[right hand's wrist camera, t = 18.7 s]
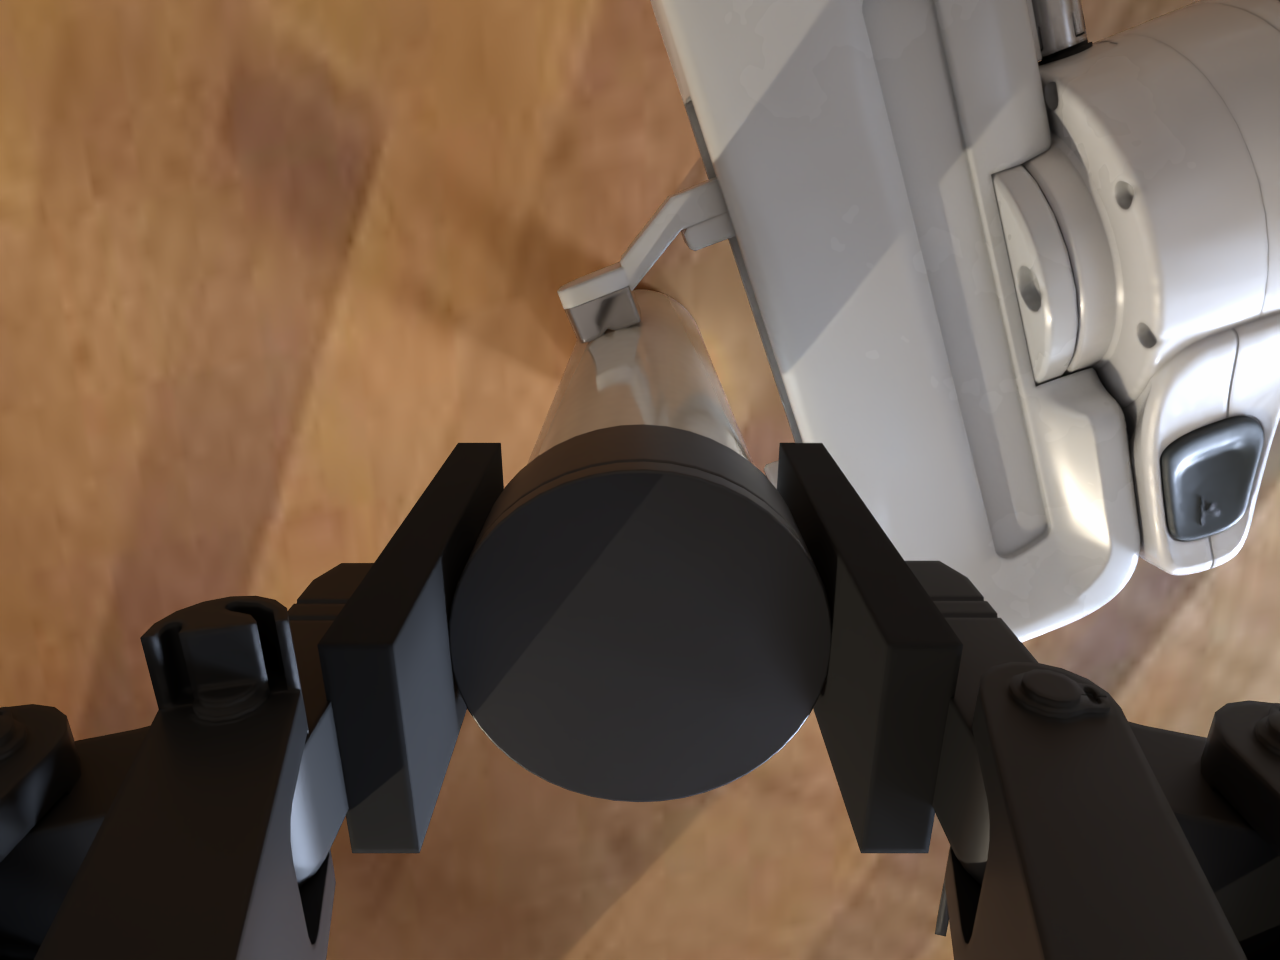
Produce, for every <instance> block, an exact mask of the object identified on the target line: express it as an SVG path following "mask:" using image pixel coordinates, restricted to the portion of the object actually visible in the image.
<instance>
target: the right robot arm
mask: <svg viewBox="0 0 1280 960" xmlns="http://www.w3.org/2000/svg"><path fill="white" fill-rule="evenodd" d="M503 490H504V486H503V471H502V456H501V443H458V444H457V445H456V447H455V448H454V450H453V451H452V453H451V454H450V455H449V457H448V458H447V460H446V461H445V463H444V464H443V465H442V467H441V468H440V470H439V471H438V473H437V474H436V475H435V477H434V478H433V480H432V481H431V483H430V484H429V486H428V487H427V488H426V490H425V491H424V493H423V494H422V496H421V497H420V498H419V500H418V501H417V503H416V504H415V506H414V507H413V508H412V510H411V511H410V513H409V514H408V516H407V517H406V518H405V520H404V521H403V523H402V524H401V526H400V527H399V528H398V530H397V531H396V533H395V534H394V536H393V537H392V538H391V540H390V541H389V543H388V544H387V546H386V547H385V548H384V550H383V551H382V553H381V554H380V556H379V557H378V559H377V560H376V561H375V563H341V564H339V565H338V566H336V567H334V568H333V569H331V570H329V571H328V572H326V573H324V574H323V575H321V576H319V577H318V578H316V579H314V580H313V581H312V582H311V584H310V585H309V586H308V587H307V588H306V590H305V591H304V592H303V593H302V594H301V596H300V597H299V598H298V599H297V604H293V605H292V607H291V608H290V609H289V610H288V612H287V608H286V607H284V606H283V605H282V604H280V603H279V602H278V601H276V600H273V599H269V598H264V597H259V596H233V597H226V598H221V599H215V600H210V601H205V602H201V603H199V604H196V605H193V606H190V607H187V608H184V609H181V610H179V611H176V612H174V613H173V614H171V615H169V616H167V617H165V618H164V619H162V620H160V621H158V622H157V623H155V624H154V625H153V626H152V627H151V628H150V629H149V630H148V631H147V632H146V633H145V634H144V635H143V636H142V637H141V642H142V646H143V650H144V654H145V658H146V662H147V665H148V669H149V673H150V677H151V681H152V685H153V689H154V692H155V696H156V700H157V704H158V708H159V710H158V712H157V714H156V716H155V718H154V720H153V722H152V724H151V726H148V727H144V728H140V729H135V730H130V731H125V732H120V733H115V734H110V735H105V736H99V737H94V738H89V739H84V740H79V741H74V738H73V735H72V732H71V729H70V725H69V722H68V719H67V716H66V715H65V714H63V713H62V712H61V711H59V710H58V709H56V708H55V707H50V706H42V705H35V704H30V705H21V706H13V707H1V708H0V960H326V956H327V948H328V940H329V932H330V924H331V916H332V908H333V900H334V892H335V884H336V881H335V874H334V867H333V861H332V856H331V850H330V848H331V846H332V844H333V841H334V839H335V837H336V835H337V833H338V831H339V829H340V826H341V824H342V822H343V820H344V818H345V816H346V819H347V825H348V831H349V837H350V842H351V848H352V853H420V850H421V847H422V844H423V841H424V838H425V835H426V832H427V829H428V826H429V823H430V820H431V817H432V813H433V810H434V807H435V804H436V801H437V798H438V795H439V792H440V789H441V786H442V783H443V780H444V777H445V774H446V771H447V768H448V765H449V762H450V759H451V756H452V753H453V750H454V747H455V744H456V740H457V737H458V734H459V731H460V728H461V725H462V722H463V719H464V716H465V713H466V710H467V707H466V705H465V702H464V700H463V698H462V696H461V694H460V692H459V690H458V687H457V684H456V681H455V677H454V674H453V671H452V665H451V656H450V646H449V633H448V622H449V615H450V609H451V602H452V599H453V596H454V593H455V590H456V586H457V583H458V580H459V578H460V576H461V574H462V572H463V570H464V567H465V565H466V563H467V561H468V559H469V556H470V554H471V552H472V550H473V548H474V545H475V543H476V541H477V539H478V537H479V534H480V532H481V530H482V528H483V526H484V523H485V521H486V519H487V517H488V515H489V513H490V511H491V509H492V507H493V505H494V503H495V502H496V500H497V499H498V497H499V496H500V494H501V493H502V491H503ZM777 490H778V492H779V493H780V495H781V496H782V498H783V500H784V501H785V503H786V504H787V506H788V508H789V509H790V512H791V514H792V516H793V518H794V520H795V522H796V525H797V527H798V529H799V531H800V533H801V536H802V538H803V540H804V542H805V544H806V546H807V549H808V551H809V553H810V555H811V557H812V560H813V562H814V564H815V566H816V568H817V571H818V573H819V575H820V577H821V580H822V582H823V584H824V587H825V590H826V594H827V598H828V601H829V605H830V609H831V619H832V640H831V651H830V660H829V668H828V674H827V677H826V679H825V682H824V685H823V688H822V691H821V694H820V696H819V698H818V700H817V702H816V704H815V705H814V707H813V709H814V712H815V715H816V718H817V721H818V724H819V727H820V730H821V733H822V736H823V739H824V742H825V745H826V748H827V751H828V754H829V757H830V760H831V763H832V766H833V770H834V773H835V776H836V779H837V782H838V785H839V788H840V791H841V794H842V797H843V800H844V803H845V806H846V809H847V812H848V815H849V818H850V821H851V824H852V827H853V830H854V833H855V836H856V839H857V842H858V846H859V849H860V852H861V853H928V851H929V845H930V839H931V833H932V828H933V822H934V816H935V813H936V815H937V817H938V819H939V821H940V823H941V826H942V828H943V830H944V832H945V834H946V836H947V838H948V841H949V843H950V850H949V856H948V861H947V867H946V872H945V878H944V884H943V889H942V895H941V900H940V906H939V911H938V917H937V924H936V930H935V934H937V935H942V936H946V932H947V927H948V922H950V930H951V938H952V946H953V954H954V960H1280V704H1279V703H1266V702H1257V701H1243V702H1235V703H1227V704H1226V705H1225V706H1223V707H1222V708H1220V709H1219V710H1218V711H1216V712H1215V715H1214V718H1213V721H1212V724H1211V727H1210V731H1209V734H1208V737H1207V738H1205V737H1200V736H1194V735H1189V734H1184V733H1179V732H1174V731H1168V730H1163V729H1158V728H1153V727H1148V726H1143V725H1139V724H1135V723H1131V722H1128V721H1127V719H1126V717H1125V715H1124V713H1123V711H1122V709H1121V708H1120V706H1119V705H1118V704H1117V703H1116V702H1115V700H1114V699H1113V698H1112V697H1111V696H1110V694H1109V693H1108V692H1106V691H1105V690H1103V689H1102V688H1100V687H1099V686H1097V685H1096V684H1094V683H1093V682H1091V681H1090V680H1088V679H1086V678H1084V677H1081V676H1079V675H1077V674H1074V673H1072V672H1069V671H1067V670H1065V669H1062V668H1058V667H1053V666H1049V665H1044V664H1040V663H1038V662H1037V661H1036V659H1035V658H1034V657H1033V656H1032V655H1031V653H1030V652H1029V651H1028V650H1027V649H1026V647H1025V646H1024V645H1023V644H1022V642H1021V641H1020V640H1019V639H1018V638H1017V636H1016V635H1015V634H1014V633H1013V632H1012V630H1011V629H1010V628H1009V627H1008V626H1007V624H1006V623H1005V622H1004V621H1003V620H1002V618H998V616H997V612H996V611H995V610H994V609H993V608H992V606H991V605H990V604H989V603H988V601H984V597H983V595H982V594H981V593H980V592H979V591H978V589H977V588H976V587H975V586H974V585H973V583H972V582H971V581H970V580H969V579H968V577H966V576H964V575H963V574H961V573H959V572H958V571H956V570H954V569H952V568H951V567H949V566H947V565H946V564H944V563H942V562H941V561H904V559H903V558H902V556H901V555H900V554H899V552H898V551H897V549H896V548H895V546H894V545H893V544H892V542H891V541H890V539H889V538H888V536H887V535H886V533H885V532H884V531H883V529H882V528H881V526H880V525H879V523H878V522H877V521H876V519H875V518H874V516H873V515H872V513H871V512H870V511H869V509H868V508H867V506H866V505H865V503H864V502H863V501H862V499H861V498H860V496H859V495H858V493H857V492H856V491H855V489H854V488H853V486H852V485H851V483H850V482H849V481H848V479H847V478H846V476H845V475H844V473H843V472H842V471H841V469H840V468H839V466H838V465H837V463H836V462H835V461H834V459H833V458H832V456H831V455H830V453H829V452H828V451H827V449H826V448H825V446H824V445H823V443H780V447H779V462H778V478H777Z"/></svg>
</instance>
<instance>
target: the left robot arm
mask: <svg viewBox="0 0 1280 960" xmlns="http://www.w3.org/2000/svg"><path fill="white" fill-rule="evenodd" d="M650 1H651V5H652V8H653V11H654V14H655V17H656V21H657V24H658V27H659V30H660V33H661V36H662V39H663V42H664V45H665V48H666V51H667V54H668V57H669V60H670V63H671V66H672V69H673V72H674V75H675V78H676V82H677V85H678V88H679V91H680V94H681V97H682V100H683V103H684V106H685V109H686V112H687V115H688V118H689V121H690V124H691V127H692V130H693V133H694V136H695V139H696V142H697V145H698V148H699V151H700V155H701V158H702V161H703V164H704V167H705V170H706V173H707V176H708V179H709V180H707V181H704V182H702V183H699V184H697V185H695V186H692V187H690V188H687V189H685V190H682V191H680V192H678V193H675V194H673V195H670V196H668V197H667V198H666V199H665V200H664V202H663V203H662V204H661V206H660V207H659V208H658V209H657V211H656V212H655V213H654V215H653V216H652V217H651V218H650V220H649V221H648V222H647V224H646V225H645V226H644V228H643V229H642V230H641V231H640V233H639V234H638V235H637V237H636V238H635V239H634V240H633V242H632V243H631V244H630V246H629V247H628V248H627V249H626V251H625V252H624V253H623V255H622V256H621V260H620V262H618V263H615V264H613V265H610V266H607V267H605V268H602V269H600V270H597V271H595V272H592V273H590V274H587V275H585V276H582V277H580V278H577V279H575V280H573V281H571V282H569V283H567V284H565V285H563V286H561V287H560V288H559V290H558V291H557V292H558V295H559V297H560V300H561V303H562V305H563V308H564V309H565V312H566V314H567V317H568V319H569V321H570V324H571V326H572V328H573V331H574V333H575V335H576V338H577V340H578V342H579V343H580V344H582V343H586V342H590V341H593V340H595V339H597V338H599V337H601V336H602V335H603V334H604V332H605V331H606V329H607V328H608V329H612V330H621V329H624V328H626V327H629V326H632V325H634V324H637V323H639V322H641V310H640V307H639V304H638V301H637V298H636V295H635V293H634V290H633V289H634V288H635V287H636V286H637V284H638V283H639V282H640V281H641V280H642V278H643V277H644V276H645V275H646V273H647V272H648V271H649V270H650V268H651V267H652V266H653V265H654V263H655V262H656V261H657V260H658V258H659V257H660V256H661V255H662V253H663V252H664V251H665V250H666V248H667V247H668V246H669V245H670V243H671V242H672V241H673V240H674V238H675V237H676V236H677V235H678V233H679V232H680V231H681V233H682V236H683V239H684V242H685V243H686V245H687V246H688V247H689V248H690V249H692V250H694V251H696V250H699V249H702V248H704V247H707V246H710V245H712V244H715V243H718V242H720V241H723V240H726V239H728V240H729V243H730V246H731V249H732V252H733V255H734V258H735V261H736V264H737V267H738V270H739V273H740V276H741V279H742V282H743V285H744V288H745V291H746V294H747V298H748V301H749V304H750V307H751V310H752V313H753V316H754V319H755V322H756V325H757V328H758V331H759V334H760V337H761V340H762V343H763V346H764V349H765V352H766V355H767V358H768V361H769V364H770V368H771V371H772V374H773V377H774V380H775V383H776V386H777V389H778V392H779V395H780V398H781V401H782V404H783V407H784V410H785V413H786V416H787V419H788V422H789V425H790V428H791V431H792V434H793V437H794V441H795V443H823V445H824V446H825V448H826V449H827V451H828V452H829V453H830V455H831V456H832V458H833V459H834V461H835V462H836V463H837V465H838V466H839V468H840V469H841V471H842V472H843V473H844V475H845V476H846V478H847V479H848V481H849V482H850V483H851V485H852V486H853V488H854V489H855V491H856V492H857V493H858V495H859V496H860V498H861V499H862V501H863V502H864V503H865V505H866V506H867V508H868V509H869V511H870V512H871V513H872V515H873V516H874V518H875V519H876V521H877V522H878V523H879V525H880V526H881V528H882V529H883V531H884V532H885V533H886V535H887V536H888V538H889V539H890V541H891V542H892V544H893V545H894V546H895V548H896V549H897V551H898V552H899V554H900V555H901V556H902V558H903V559H904V561H941V562H942V563H944V564H946V565H947V566H949V567H951V568H952V569H954V570H956V571H958V572H959V573H961V574H963V575H964V576H966V577H968V579H969V580H970V581H971V582H972V583H973V585H974V586H975V587H976V588H977V589H978V591H979V592H980V593H981V594H982V595H983V597H984V601H988V603H989V604H990V605H991V606H992V608H993V609H994V610H995V611H996V612H997V616H998V618H1002V620H1003V621H1004V622H1005V623H1006V624H1007V626H1008V627H1009V628H1010V629H1011V630H1012V632H1013V633H1014V634H1015V635H1016V636H1017V638H1018V639H1019V640H1020V641H1021V642H1024V641H1027V640H1029V639H1032V638H1035V637H1037V636H1040V635H1042V634H1045V633H1047V632H1050V631H1052V630H1055V629H1057V628H1060V627H1062V626H1065V625H1067V624H1069V623H1072V622H1074V621H1076V620H1078V619H1080V618H1083V617H1085V616H1087V615H1088V614H1090V613H1092V612H1094V611H1095V610H1097V609H1099V608H1100V607H1102V606H1103V605H1104V604H1106V603H1107V602H1109V601H1110V600H1111V599H1112V598H1113V597H1115V596H1116V595H1117V594H1118V593H1119V592H1120V591H1121V590H1122V589H1123V587H1124V586H1125V585H1126V583H1127V582H1128V581H1129V579H1130V578H1131V576H1132V574H1133V572H1134V570H1135V568H1136V565H1137V562H1138V558H1139V557H1141V558H1142V559H1144V560H1146V561H1147V562H1149V563H1151V564H1153V565H1154V566H1156V567H1158V568H1160V569H1161V570H1163V571H1165V572H1167V573H1169V574H1172V575H1188V574H1193V573H1198V572H1201V571H1205V570H1208V569H1211V568H1214V567H1217V566H1219V565H1221V564H1224V563H1225V562H1227V561H1229V560H1230V559H1232V558H1233V557H1234V556H1235V555H1236V554H1237V553H1238V552H1239V551H1240V549H1241V548H1242V546H1243V544H1244V542H1245V540H1246V538H1247V535H1248V532H1249V528H1250V525H1251V521H1252V517H1253V513H1254V508H1255V504H1256V500H1257V496H1258V492H1259V488H1260V484H1261V480H1262V476H1263V472H1264V468H1265V465H1266V461H1267V458H1268V454H1269V450H1270V447H1271V444H1272V440H1273V437H1274V434H1275V431H1276V428H1277V425H1278V421H1279V419H1280V0H1200V1H1197V2H1195V3H1193V4H1190V5H1188V6H1185V7H1182V8H1180V9H1177V10H1175V11H1172V12H1170V13H1167V14H1165V15H1162V16H1160V17H1157V18H1155V19H1152V20H1150V21H1147V22H1145V23H1142V24H1140V25H1137V26H1135V27H1132V28H1130V29H1128V30H1125V31H1123V32H1120V33H1118V34H1115V35H1113V36H1110V37H1108V38H1105V39H1102V40H1100V41H1097V42H1095V43H1092V42H1089V43H1088V41H1087V36H1086V28H1085V22H1084V17H1083V11H1082V5H1081V0H650ZM1040 60H1041V61H1040ZM1038 61H1040V62H1038ZM778 462H779V460H778V461H775V462H772V463H770V464H767V465H766V466H765V468H764V471H765V474H766V477H767V478H768V480H769V481H770V482H771V483H772V484H773V485H774V487H775V488H776V489H777V478H778Z"/></svg>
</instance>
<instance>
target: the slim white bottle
mask: <svg viewBox="0 0 1280 960" xmlns="http://www.w3.org/2000/svg"><path fill="white" fill-rule="evenodd" d="M634 293H635V295H636V298H637V301H638V304H639V307H640V310H641V322H639V323H637V324H634V325H632V326H629V327H626V328H624V329H621V330H612V329H608V328H607V329H606V331H605V332H604V334H603V335H602V336H601V337H599V338H597V339H595V340H593V341H590V342H586V343H582V344H580V343H579V342H578V340H577V342H576V344H575V347H574V349H573V352H572V354H571V357H570V359H569V362H568V364H567V367H566V369H565V372H564V374H563V377H562V379H561V382H560V384H559V386H558V389H557V391H556V394H555V396H554V399H553V401H552V404H551V406H550V409H549V411H548V414H547V416H546V419H545V421H544V424H543V426H542V429H541V431H540V434H539V436H538V439H537V441H536V444H535V446H534V449H533V451H532V454H531V456H530V459H529V461H528V464H529V463H530V462H531V461H532V460H534V459H535V458H536V457H538V456H539V455H541V454H542V453H544V452H546V451H547V450H549V449H550V448H552V447H553V446H555V445H557V444H559V443H562V442H564V441H566V440H568V439H570V438H573V437H575V436H578V435H581V434H584V433H587V432H591V431H594V430H597V429H602V428H608V427H614V426H620V425H639V424H646V425H658V426H668V427H673V428H678V429H682V430H687V431H691V432H694V433H697V434H699V435H702V436H705V437H708V438H711V439H713V440H715V441H717V442H719V443H721V444H723V445H725V446H727V447H729V448H731V449H732V450H734V451H735V452H737V453H738V454H740V455H741V456H743V457H744V458H745V459H747V460H748V461H750V462H751V463H752V464H753V462H752V460H751V457H750V455H749V452H748V450H747V447H746V445H745V442H744V440H743V437H742V435H741V433H740V430H739V428H738V425H737V423H736V420H735V418H734V415H733V413H732V410H731V408H730V405H729V403H728V400H727V398H726V395H725V393H724V390H723V388H722V385H721V383H720V380H719V378H718V375H717V373H716V370H715V368H714V365H713V363H712V360H711V358H710V356H709V353H708V351H707V348H706V346H705V343H704V341H703V338H702V336H701V333H700V331H699V328H698V326H697V324H696V322H695V320H694V319H693V317H692V316H691V314H690V313H689V312H688V311H687V310H686V308H685V307H683V306H682V305H681V304H680V303H679V302H677V301H676V300H674V299H673V298H671V297H669V296H667V295H665V294H663V293H660V292H657V291H652V290H643V289H637V290H634ZM528 464H527V465H528Z"/></svg>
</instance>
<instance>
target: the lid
mask: <svg viewBox="0 0 1280 960" xmlns="http://www.w3.org/2000/svg"><path fill="white" fill-rule="evenodd" d="M448 633H449V646H450V656H451V665H452V671H453V674H454V677H455V681H456V684H457V687H458V690H459V692H460V694H461V696H462V698H463V700H464V702H465V705H466V707H467V709H468V710H469V712H470V713H471V715H472V716H473V718H474V719H475V721H476V722H477V724H478V726H479V727H480V728H481V729H482V731H483V732H484V733H485V734H486V735H487V736H488V737H489V739H490V740H491V741H492V742H493V743H494V744H495V745H496V746H497V747H498V748H499V749H500V750H501V751H503V752H504V753H505V754H506V755H507V756H508V757H509V758H510V759H512V760H513V761H515V762H516V763H518V764H519V765H520V766H522V767H523V768H525V769H526V770H528V771H529V772H531V773H533V774H535V775H537V776H538V777H540V778H542V779H544V780H546V781H548V782H550V783H552V784H555V785H557V786H560V787H562V788H565V789H567V790H570V791H573V792H577V793H580V794H584V795H587V796H591V797H597V798H602V799H608V800H614V801H629V802H651V801H665V800H672V799H679V798H685V797H689V796H693V795H697V794H700V793H704V792H707V791H710V790H713V789H716V788H718V787H721V786H724V785H726V784H728V783H730V782H732V781H734V780H736V779H738V778H740V777H742V776H744V775H746V774H748V773H749V772H751V771H753V770H754V769H756V768H757V767H759V766H760V765H762V764H763V763H765V762H766V761H767V760H769V759H770V758H771V757H772V756H773V755H774V754H776V753H777V752H778V751H779V750H780V749H782V748H783V747H784V746H785V745H786V743H787V742H788V741H789V740H790V739H791V738H792V737H793V736H794V735H795V734H796V733H797V732H798V730H799V729H800V727H801V726H802V725H803V723H804V722H805V720H806V719H807V718H808V716H809V715H810V713H811V711H812V709H813V707H814V705H815V704H816V702H817V700H818V698H819V696H820V694H821V691H822V688H823V685H824V682H825V679H826V677H827V674H828V668H829V660H830V651H831V640H832V619H831V609H830V605H829V601H828V598H827V594H826V590H825V587H824V584H823V582H822V580H821V577H820V575H819V573H818V571H817V568H816V566H815V564H814V562H813V560H812V557H811V555H810V553H809V551H808V549H807V546H806V544H805V542H804V540H803V538H802V536H801V533H800V531H799V529H798V527H797V525H796V522H795V520H794V518H793V516H792V514H791V512H790V509H789V508H788V506H787V504H786V503H785V501H784V500H783V498H782V496H781V495H780V493H779V492H778V490H777V489H776V488H775V487H774V485H773V484H772V483H771V482H770V481H769V480H768V478H767V477H766V476H765V475H764V474H763V473H762V472H761V471H760V470H759V469H757V468H756V467H755V466H754V465H753V464H752V463H751V462H750V461H748V460H747V459H745V458H744V457H743V456H741V455H740V454H738V453H737V452H735V451H734V450H732V449H731V448H729V447H727V446H725V445H723V444H721V443H719V442H717V441H715V440H713V439H711V438H708V437H705V436H702V435H699V434H697V433H694V432H691V431H687V430H682V429H678V428H673V427H668V426H658V425H646V424H639V425H620V426H614V427H608V428H602V429H597V430H594V431H591V432H587V433H584V434H581V435H578V436H575V437H573V438H570V439H568V440H566V441H564V442H562V443H559V444H557V445H555V446H553V447H552V448H550V449H549V450H547V451H546V452H544V453H542V454H541V455H539V456H538V457H536V458H535V459H534V460H532V461H531V462H530V463H529V464H528V465H527V466H525V467H524V468H523V469H522V470H521V471H519V473H518V474H517V475H516V476H515V477H514V478H513V479H512V480H511V481H510V482H509V484H508V485H507V486H506V487H505V488H504V490H503V491H502V493H501V494H500V496H499V497H498V499H497V500H496V502H495V503H494V505H493V507H492V509H491V511H490V513H489V515H488V517H487V519H486V521H485V523H484V526H483V528H482V530H481V532H480V534H479V537H478V539H477V541H476V543H475V545H474V548H473V550H472V552H471V554H470V556H469V559H468V561H467V563H466V565H465V567H464V570H463V572H462V574H461V576H460V578H459V580H458V583H457V586H456V590H455V593H454V596H453V599H452V602H451V609H450V615H449V622H448Z"/></svg>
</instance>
